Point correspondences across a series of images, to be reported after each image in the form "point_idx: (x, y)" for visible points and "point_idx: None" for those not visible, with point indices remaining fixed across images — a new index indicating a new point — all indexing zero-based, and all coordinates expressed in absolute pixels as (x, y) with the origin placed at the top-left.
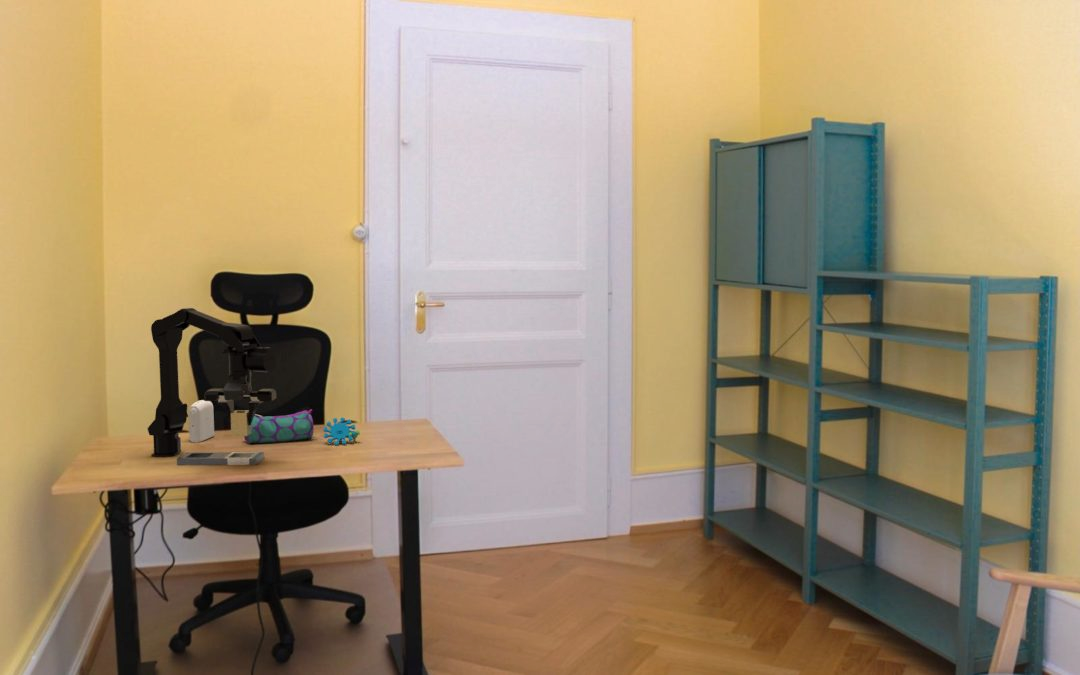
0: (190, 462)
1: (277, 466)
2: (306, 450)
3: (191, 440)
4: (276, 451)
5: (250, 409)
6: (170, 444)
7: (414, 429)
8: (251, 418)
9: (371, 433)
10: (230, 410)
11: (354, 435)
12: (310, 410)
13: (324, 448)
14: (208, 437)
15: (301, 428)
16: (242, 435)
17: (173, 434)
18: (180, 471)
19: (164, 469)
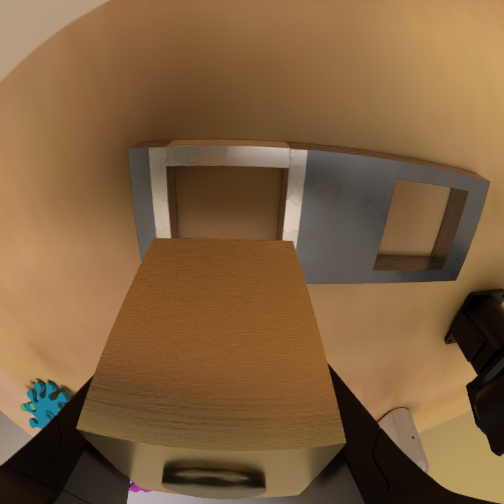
0: (444, 166)
1: (46, 122)
2: (80, 355)
3: (406, 410)
4: None
5: (46, 470)
6: (488, 323)
7: (31, 430)
8: (86, 384)
9: None
10: (351, 482)
11: (29, 402)
12: (130, 488)
13: (55, 364)
14: None
15: None
16: (191, 240)
17: (496, 349)
18: (451, 53)
19: (498, 108)
